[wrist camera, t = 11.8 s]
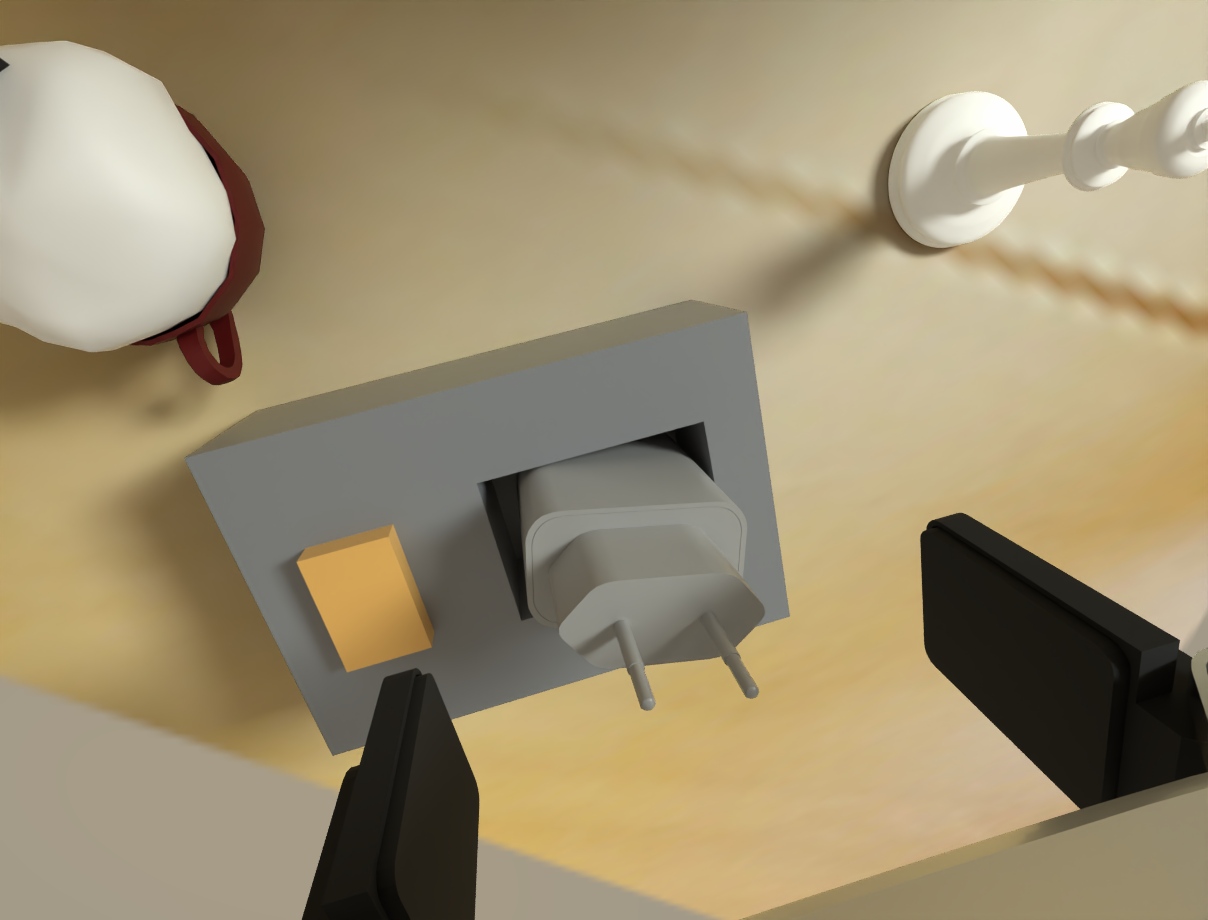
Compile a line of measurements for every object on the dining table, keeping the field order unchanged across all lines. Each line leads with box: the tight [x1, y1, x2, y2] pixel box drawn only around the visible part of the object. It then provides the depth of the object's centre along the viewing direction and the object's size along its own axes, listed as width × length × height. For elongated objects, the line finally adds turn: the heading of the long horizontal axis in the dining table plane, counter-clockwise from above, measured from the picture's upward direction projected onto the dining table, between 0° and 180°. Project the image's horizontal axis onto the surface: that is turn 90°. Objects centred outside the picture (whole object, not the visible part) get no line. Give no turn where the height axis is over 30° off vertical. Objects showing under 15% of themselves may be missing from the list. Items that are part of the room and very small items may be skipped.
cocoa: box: [0, 41, 265, 385], centre depth 12 cm, size 10×6×12 cm
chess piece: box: [888, 80, 1208, 248], centre depth 17 cm, size 5×5×10 cm
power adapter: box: [516, 432, 765, 711], centre depth 16 cm, size 3×5×12 cm, turn 90°
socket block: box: [184, 300, 790, 756], centre depth 20 cm, size 15×10×6 cm, turn 103°
